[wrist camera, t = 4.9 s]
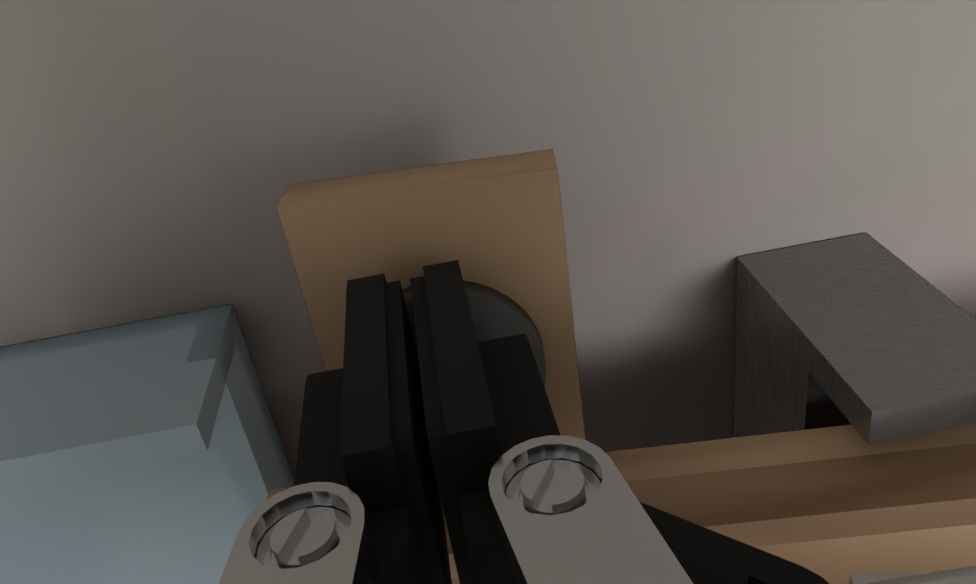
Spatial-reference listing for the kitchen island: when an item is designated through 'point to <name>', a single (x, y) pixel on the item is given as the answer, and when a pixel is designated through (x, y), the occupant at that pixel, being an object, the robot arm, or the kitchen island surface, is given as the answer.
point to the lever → (549, 328)
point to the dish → (132, 452)
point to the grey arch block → (848, 344)
